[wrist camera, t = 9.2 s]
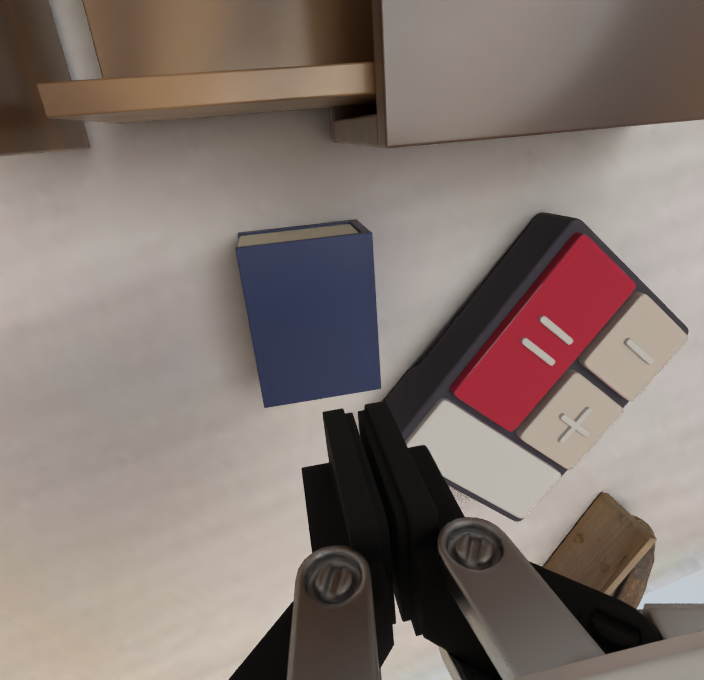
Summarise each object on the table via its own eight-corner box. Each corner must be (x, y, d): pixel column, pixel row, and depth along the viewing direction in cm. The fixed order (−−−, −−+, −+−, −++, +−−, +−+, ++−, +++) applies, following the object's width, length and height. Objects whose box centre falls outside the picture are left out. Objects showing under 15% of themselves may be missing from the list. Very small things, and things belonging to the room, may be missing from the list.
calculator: (705, 336, 26) (526, 534, 28) (643, 312, 29) (491, 488, 32) (588, 216, 21) (390, 461, 24) (534, 207, 25) (369, 418, 28)
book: (366, 359, 26) (381, 389, 23) (263, 375, 26) (264, 408, 22) (356, 219, 23) (372, 232, 20) (237, 232, 22) (235, 248, 19)
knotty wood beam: (501, 619, 38) (573, 627, 42) (533, 676, 34) (609, 680, 38) (602, 490, 34) (673, 511, 38) (651, 538, 30) (725, 556, 34)
